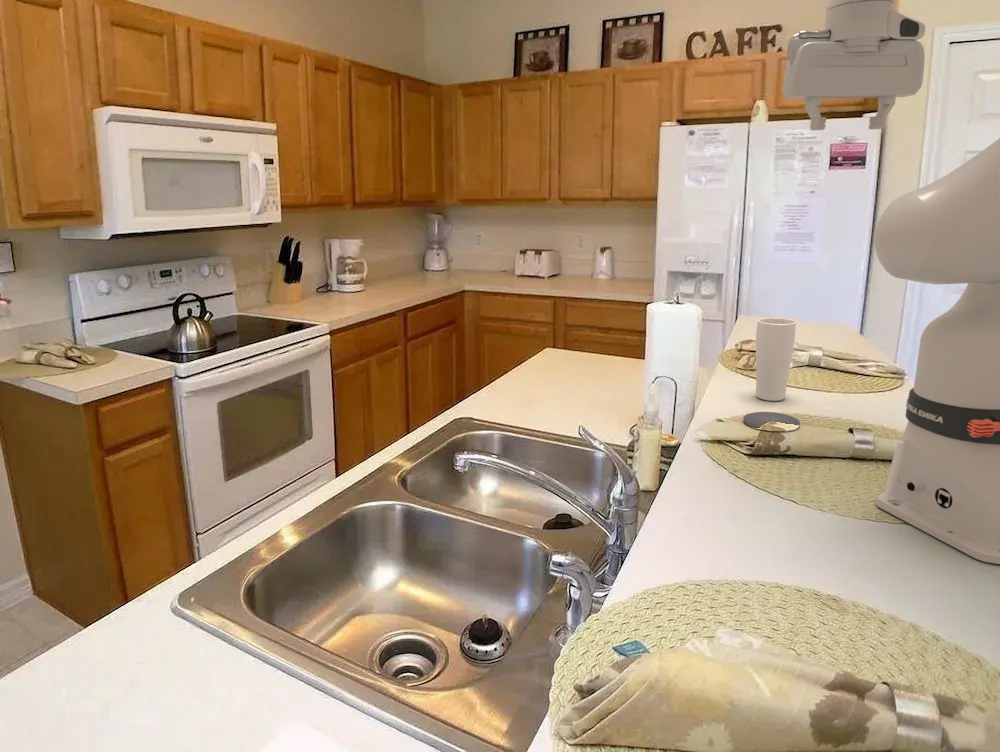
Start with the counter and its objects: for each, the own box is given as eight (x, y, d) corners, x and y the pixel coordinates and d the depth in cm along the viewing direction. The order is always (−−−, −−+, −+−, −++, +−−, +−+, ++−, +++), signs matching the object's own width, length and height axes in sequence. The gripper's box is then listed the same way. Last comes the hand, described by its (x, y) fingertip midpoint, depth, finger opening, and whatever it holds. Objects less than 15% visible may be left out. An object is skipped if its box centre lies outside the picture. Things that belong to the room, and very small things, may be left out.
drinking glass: (792, 403, 128) (799, 324, 124) (754, 402, 129) (760, 324, 125) (785, 393, 134) (792, 317, 130) (749, 392, 136) (754, 317, 132)
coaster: (810, 430, 114) (810, 427, 114) (757, 433, 113) (757, 430, 113) (783, 413, 122) (783, 410, 122) (734, 416, 122) (734, 413, 121)
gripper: (800, 25, 97) (791, 129, 101) (936, 24, 99) (923, 126, 102) (779, 35, 103) (771, 132, 107) (907, 34, 105) (896, 130, 108)
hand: (847, 129), depth 105 cm, fingers open, 8 cm apart
